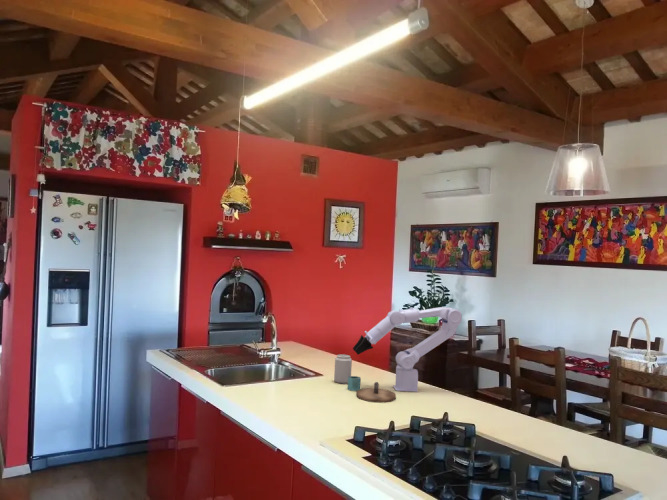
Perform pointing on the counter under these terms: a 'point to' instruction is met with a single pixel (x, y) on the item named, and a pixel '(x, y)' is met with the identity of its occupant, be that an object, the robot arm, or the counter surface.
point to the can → (342, 368)
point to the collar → (354, 383)
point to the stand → (375, 394)
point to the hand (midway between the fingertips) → (355, 351)
